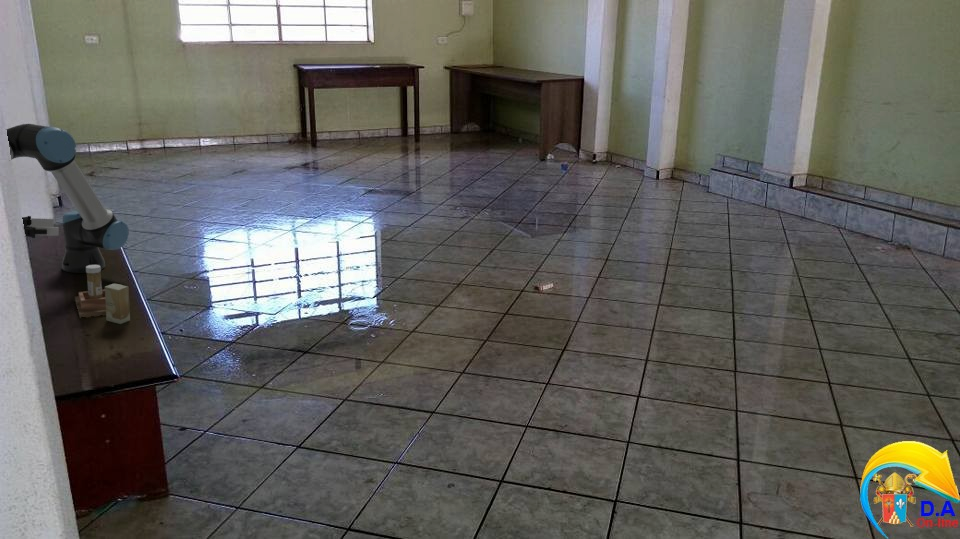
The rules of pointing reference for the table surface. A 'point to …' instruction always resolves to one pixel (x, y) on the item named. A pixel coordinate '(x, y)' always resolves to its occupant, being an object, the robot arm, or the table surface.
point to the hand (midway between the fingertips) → (56, 227)
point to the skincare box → (117, 303)
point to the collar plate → (90, 305)
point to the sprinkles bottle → (94, 281)
